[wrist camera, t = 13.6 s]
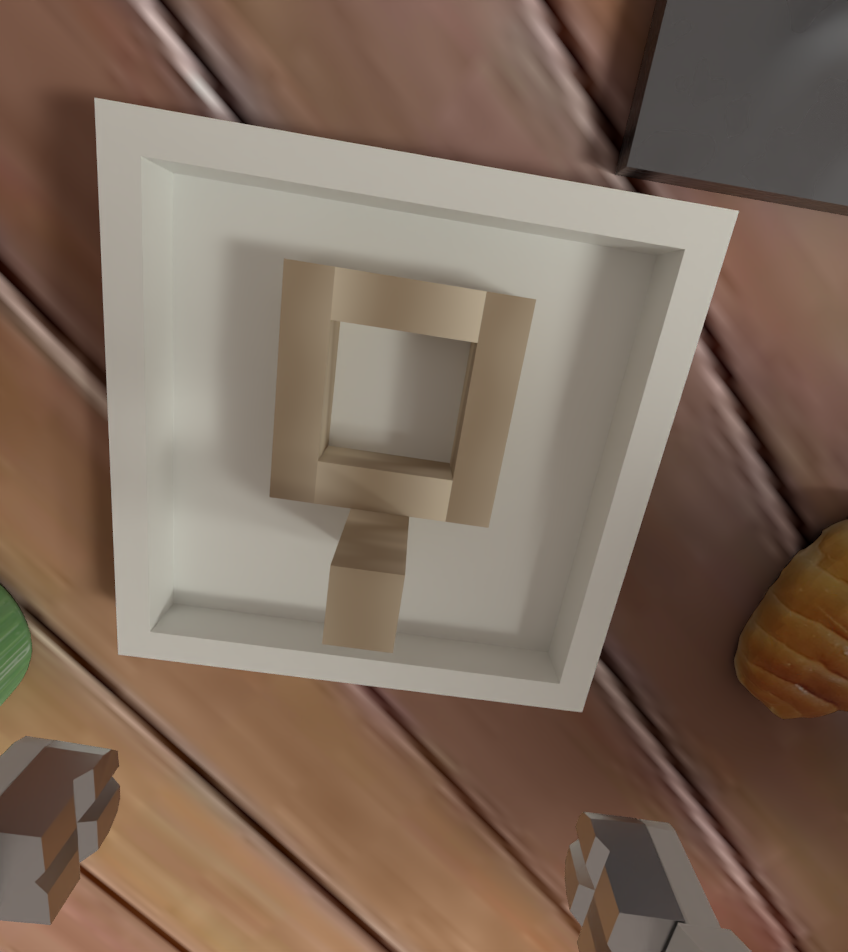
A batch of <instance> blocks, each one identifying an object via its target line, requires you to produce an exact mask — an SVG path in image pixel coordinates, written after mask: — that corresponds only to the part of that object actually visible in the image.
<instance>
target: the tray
mask: <svg viewBox="0 0 848 952" xmlns="http://www.w3.org/2000/svg"><path fill="white" fill-rule="evenodd" d="M94 101H95V125H96V148H97V171H98V195H99V218H100V241H101V265H102V288H103V311H104V335H105V358H106V381H107V405H108V428H109V452H110V475H111V498H112V522H113V545H114V568H115V592H116V615H117V638H118V655H126V656H134V657H142V658H150V659H158V660H166V661H174V662H182V663H190V664H198V665H206V666H214V667H222V668H230V669H238V670H246V671H254V672H262V673H270V674H278V675H287V676H295V677H303V678H311V679H319V680H327V681H335V682H343V683H351V684H359V685H367V686H375V687H383V688H391V689H399V690H407V691H415V692H423V693H431V694H439V695H447V696H455V697H463V698H471V699H479V700H487V701H495V702H503V703H511V704H519V705H527V706H535V707H543V708H551V709H559V710H567V711H575V712H582V711H583V708H584V705H585V701H586V698H587V695H588V692H589V689H590V686H591V682H592V679H593V676H594V673H595V670H596V666H597V663H598V660H599V657H600V654H601V650H602V647H603V644H604V641H605V638H606V634H607V631H608V628H609V625H610V622H611V618H612V615H613V612H614V609H615V606H616V602H617V599H618V596H619V593H620V590H621V586H622V583H623V580H624V577H625V574H626V570H627V567H628V564H629V561H630V558H631V555H632V551H633V548H634V545H635V542H636V539H637V535H638V532H639V529H640V526H641V523H642V519H643V516H644V513H645V510H646V507H647V503H648V500H649V497H650V494H651V491H652V487H653V484H654V481H655V478H656V475H657V471H658V468H659V465H660V462H661V459H662V455H663V452H664V449H665V446H666V443H667V439H668V436H669V433H670V430H671V427H672V423H673V420H674V417H675V414H676V411H677V408H678V404H679V401H680V398H681V395H682V392H683V388H684V385H685V382H686V379H687V376H688V372H689V369H690V366H691V363H692V360H693V356H694V353H695V350H696V347H697V344H698V340H699V337H700V334H701V331H702V328H703V324H704V321H705V318H706V315H707V312H708V308H709V305H710V302H711V299H712V296H713V292H714V289H715V286H716V283H717V280H718V276H719V273H720V270H721V267H722V264H723V261H724V257H725V254H726V251H727V248H728V245H729V241H730V238H731V235H732V232H733V229H734V225H735V222H736V219H737V216H738V213H739V211H737V210H731V209H725V208H720V207H714V206H708V205H703V204H697V203H691V202H686V201H680V200H674V199H668V198H663V197H657V196H651V195H646V194H640V193H634V192H629V191H623V190H617V189H612V188H606V187H600V186H594V185H589V184H583V183H577V182H572V181H566V180H560V179H555V178H549V177H543V176H538V175H532V174H526V173H521V172H515V171H509V170H503V169H498V168H492V167H486V166H481V165H475V164H469V163H464V162H458V161H452V160H447V159H441V158H435V157H430V156H424V155H418V154H412V153H407V152H401V151H395V150H390V149H384V148H378V147H373V146H367V145H361V144H356V143H350V142H344V141H339V140H333V139H327V138H321V137H316V136H310V135H304V134H299V133H293V132H287V131H282V130H276V129H270V128H265V127H259V126H253V125H247V124H242V123H236V122H230V121H225V120H219V119H213V118H208V117H202V116H196V115H191V114H185V113H179V112H174V111H168V110H162V109H156V108H151V107H145V106H139V105H134V104H128V103H122V102H117V101H111V100H105V99H100V98H94ZM284 258H285V259H291V260H297V261H303V262H309V263H315V264H321V265H328V266H334V267H340V268H346V269H352V270H358V271H365V272H371V273H377V274H383V275H389V276H395V277H401V278H408V279H414V280H420V281H426V282H432V283H438V284H445V285H451V286H457V287H463V288H469V289H475V290H481V291H488V292H494V293H500V294H506V295H512V296H518V297H524V298H531V299H536V303H535V308H534V313H533V317H532V322H531V327H530V332H529V337H528V341H527V346H526V351H525V356H524V360H523V365H522V370H521V375H520V380H519V384H518V389H517V394H516V399H515V403H514V408H513V413H512V418H511V423H510V427H509V432H508V437H507V442H506V446H505V451H504V456H503V461H502V466H501V470H500V475H499V480H498V485H497V489H496V494H495V499H494V504H493V508H492V513H491V518H490V523H489V528H486V527H479V526H472V525H465V524H458V523H451V522H444V521H436V520H429V519H422V518H415V517H409V526H408V541H407V555H406V570H405V579H404V586H403V592H402V598H401V605H400V611H399V617H398V623H397V630H396V636H395V642H394V649H393V653H387V652H379V651H371V650H364V649H356V648H348V647H340V646H332V645H324V644H322V640H323V630H324V621H325V611H326V602H327V592H328V583H329V573H330V565H331V562H332V559H333V557H334V554H335V551H336V548H337V545H338V543H339V540H340V537H341V534H342V532H343V529H344V526H345V523H346V520H347V518H348V515H349V512H350V509H351V508H344V507H336V506H329V505H322V504H315V503H308V502H301V501H294V500H286V499H279V498H272V497H269V495H270V478H271V462H272V445H273V429H274V412H275V395H276V379H277V362H278V346H279V329H280V312H281V296H282V279H283V263H284ZM470 346H471V342H468V341H462V340H455V339H449V338H443V337H436V336H430V335H424V334H417V333H411V332H405V331H398V330H392V329H386V328H379V327H373V326H366V325H360V324H354V323H347V322H341V321H340V330H339V341H338V351H337V362H336V372H335V382H334V393H333V403H332V414H331V424H330V434H329V446H336V447H343V448H349V449H356V450H363V451H370V452H377V453H384V454H391V455H397V456H404V457H411V458H418V459H425V460H432V461H439V462H445V463H450V459H451V454H452V448H453V442H454V437H455V431H456V425H457V420H458V414H459V408H460V402H461V397H462V391H463V385H464V380H465V374H466V368H467V363H468V357H469V351H470Z"/></svg>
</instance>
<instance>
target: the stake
mask: <svg viewBox="0 0 848 952" xmlns="http://www.w3.org/2000/svg"><path fill="white" fill-rule="evenodd" d="M615 175H621V176H626V177H632V178H638V179H643V180H649V181H655V182H660V183H666V184H671V185H677V186H683V187H688V188H694V189H700V190H705V191H711V192H717V193H722V194H728V195H734V196H739V197H745V198H750V199H756V200H762V201H767V202H773V203H779V204H784V205H790V206H796V207H801V208H807V209H813V210H818V211H824V212H829V213H835V214H841V215H846V216H848V0H657V1H656V6H655V10H654V14H653V18H652V22H651V27H650V31H649V35H648V39H647V43H646V47H645V52H644V56H643V60H642V64H641V68H640V72H639V77H638V81H637V85H636V89H635V93H634V98H633V102H632V106H631V110H630V114H629V118H628V123H627V127H626V131H625V135H624V139H623V144H622V148H621V152H620V156H619V160H618V164H617V169H616V173H615Z"/></svg>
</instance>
